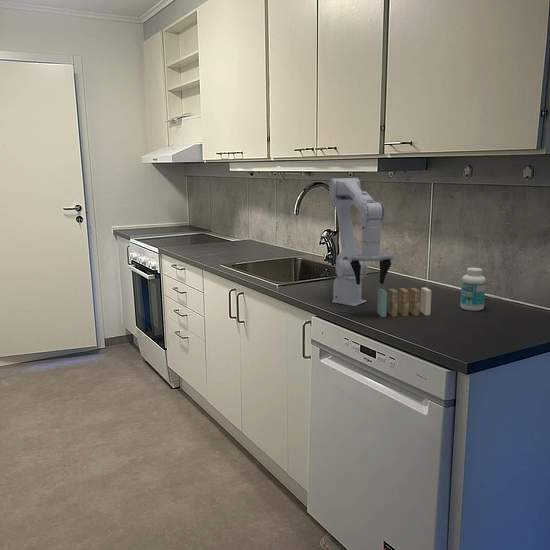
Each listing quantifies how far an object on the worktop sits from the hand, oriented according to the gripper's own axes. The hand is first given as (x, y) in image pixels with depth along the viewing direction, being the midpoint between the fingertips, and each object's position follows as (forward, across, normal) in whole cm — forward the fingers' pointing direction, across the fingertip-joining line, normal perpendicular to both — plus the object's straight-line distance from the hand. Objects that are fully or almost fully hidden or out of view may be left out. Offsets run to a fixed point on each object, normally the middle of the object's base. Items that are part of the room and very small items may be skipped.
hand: (369, 283), depth 169 cm
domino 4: (+10, +15, 0) cm, 18 cm away
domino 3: (+10, +11, 0) cm, 15 cm away
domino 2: (+10, +8, 0) cm, 13 cm away
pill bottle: (+11, +36, +3) cm, 38 cm away
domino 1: (+10, +4, 0) cm, 11 cm away
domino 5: (+10, +19, 0) cm, 21 cm away
